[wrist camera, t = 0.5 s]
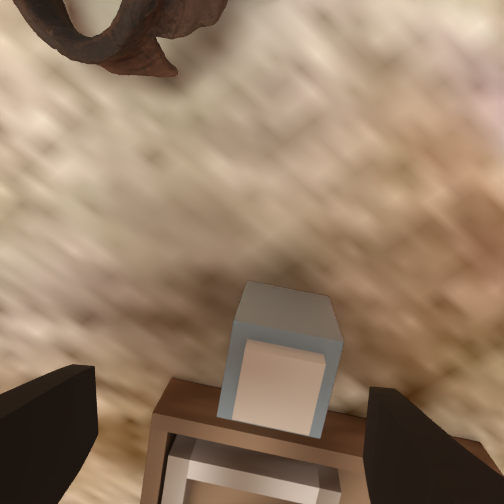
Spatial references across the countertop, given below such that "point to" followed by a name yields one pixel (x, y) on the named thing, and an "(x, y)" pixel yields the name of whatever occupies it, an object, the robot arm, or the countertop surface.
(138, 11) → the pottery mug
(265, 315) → the block
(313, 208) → the countertop surface
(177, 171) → the countertop surface
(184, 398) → the box
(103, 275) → the countertop surface
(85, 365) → the robot arm
